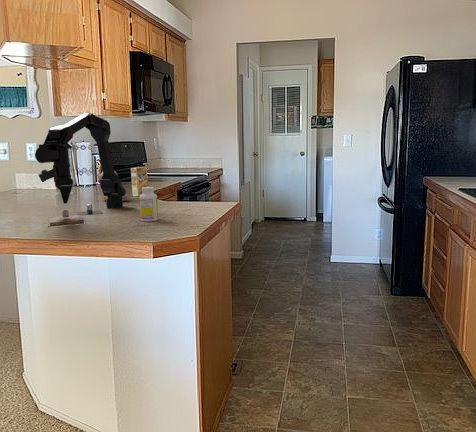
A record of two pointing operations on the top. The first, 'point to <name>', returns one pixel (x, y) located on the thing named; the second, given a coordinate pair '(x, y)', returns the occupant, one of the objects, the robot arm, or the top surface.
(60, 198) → the collar
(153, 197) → the supplement bottle
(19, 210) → the top surface
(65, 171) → the robot arm
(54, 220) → the hub
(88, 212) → the stand
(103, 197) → the stone cup
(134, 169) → the candy box
